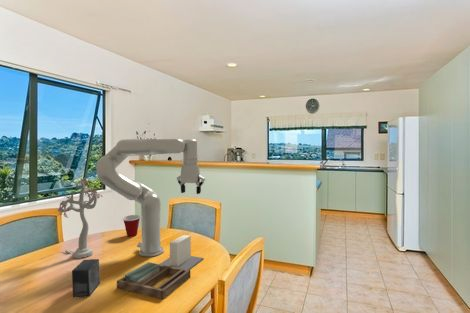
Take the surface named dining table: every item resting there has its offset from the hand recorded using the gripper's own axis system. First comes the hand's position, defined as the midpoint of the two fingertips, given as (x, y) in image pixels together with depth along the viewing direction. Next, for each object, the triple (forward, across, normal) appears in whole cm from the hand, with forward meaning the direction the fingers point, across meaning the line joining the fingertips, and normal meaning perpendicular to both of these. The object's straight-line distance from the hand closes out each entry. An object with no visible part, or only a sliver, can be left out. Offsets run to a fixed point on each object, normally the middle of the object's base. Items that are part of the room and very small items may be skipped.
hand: (190, 193), depth 158 cm
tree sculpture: (+30, -49, -30) cm, 65 cm away
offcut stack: (+30, +1, -41) cm, 51 cm away
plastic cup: (+31, -46, +5) cm, 55 cm away
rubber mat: (+30, +6, -20) cm, 37 cm away
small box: (+31, -14, -56) cm, 65 cm away
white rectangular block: (+30, +6, -20) cm, 36 cm away
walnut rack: (+30, +7, -41) cm, 51 cm away
